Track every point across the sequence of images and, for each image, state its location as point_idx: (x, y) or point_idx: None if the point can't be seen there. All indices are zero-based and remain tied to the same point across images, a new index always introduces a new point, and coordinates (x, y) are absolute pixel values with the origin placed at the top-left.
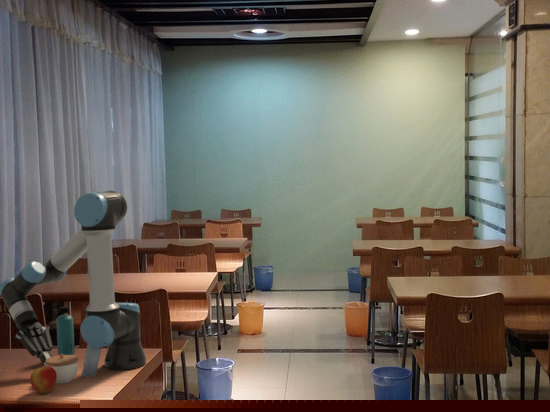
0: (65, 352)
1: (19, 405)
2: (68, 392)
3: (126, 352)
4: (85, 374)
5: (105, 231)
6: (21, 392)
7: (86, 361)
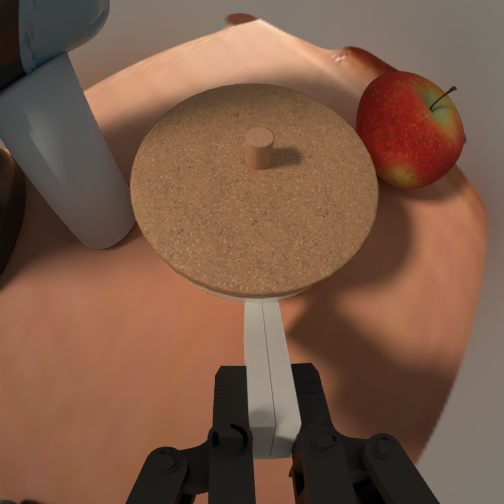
0: None
1: None
2: (319, 101)
3: None
4: None
5: None
6: (444, 236)
7: (106, 153)
